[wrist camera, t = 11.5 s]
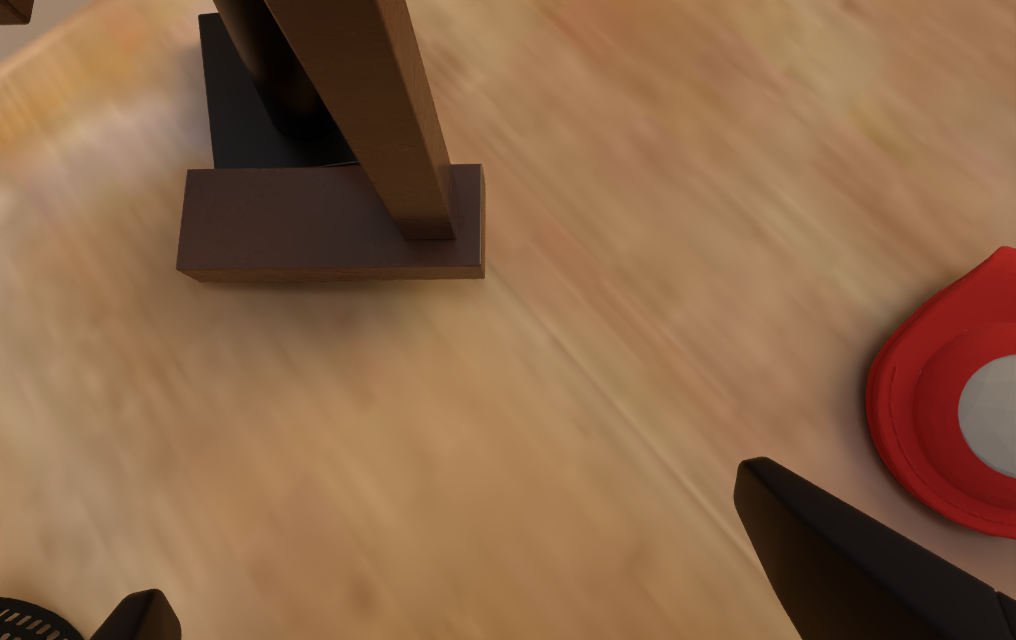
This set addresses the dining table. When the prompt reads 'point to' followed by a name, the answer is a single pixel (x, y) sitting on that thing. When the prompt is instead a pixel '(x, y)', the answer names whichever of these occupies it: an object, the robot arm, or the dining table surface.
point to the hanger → (341, 168)
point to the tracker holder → (954, 399)
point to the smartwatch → (38, 613)
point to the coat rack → (263, 95)
